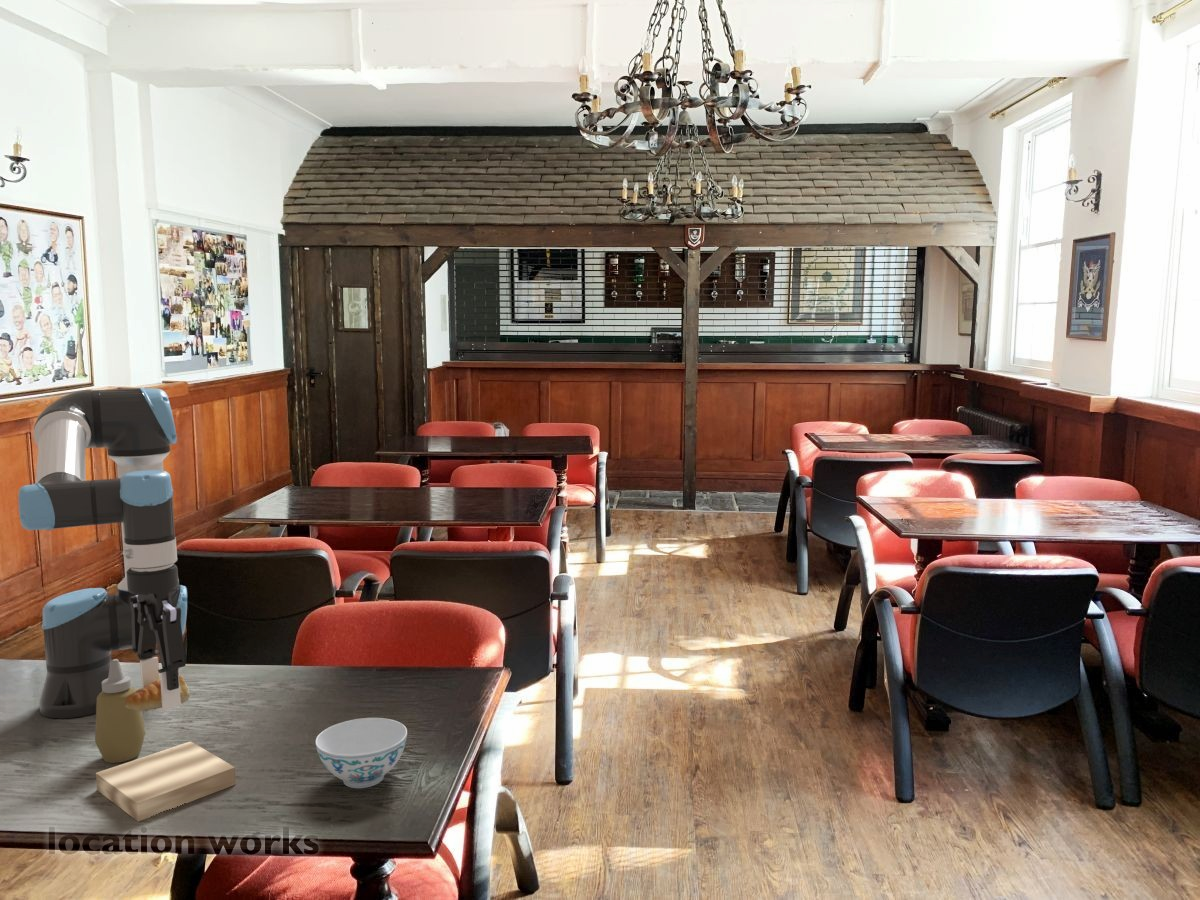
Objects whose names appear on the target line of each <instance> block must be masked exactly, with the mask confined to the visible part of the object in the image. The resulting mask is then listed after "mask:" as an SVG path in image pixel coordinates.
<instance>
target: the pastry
mask: <svg viewBox="0 0 1200 900" xmlns="http://www.w3.org/2000/svg"><path fill="white" fill-rule="evenodd" d="M179 682H180V697H181V704H184V703H186V702H187V701H189V698H190V696H191V694H190V693H191V692H190V689H189V686H188V685H187V683H186V679H185V678H184V677H183V675H180V674H179ZM136 690H137V691H136V692H134V693H133V694H131V695H129V696H128V697H127V699H126V702H125V704H126V705H125V707H126V708H129V709H132V710H136V711H141V712H147V711H149V710H151V711H152V710H157V709H162V696H161V682H160V680H157V681H154V682H153V683H151V684H149V685H147V686H146V687H144V688H142V687H141V688H139V689H136Z"/></svg>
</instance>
